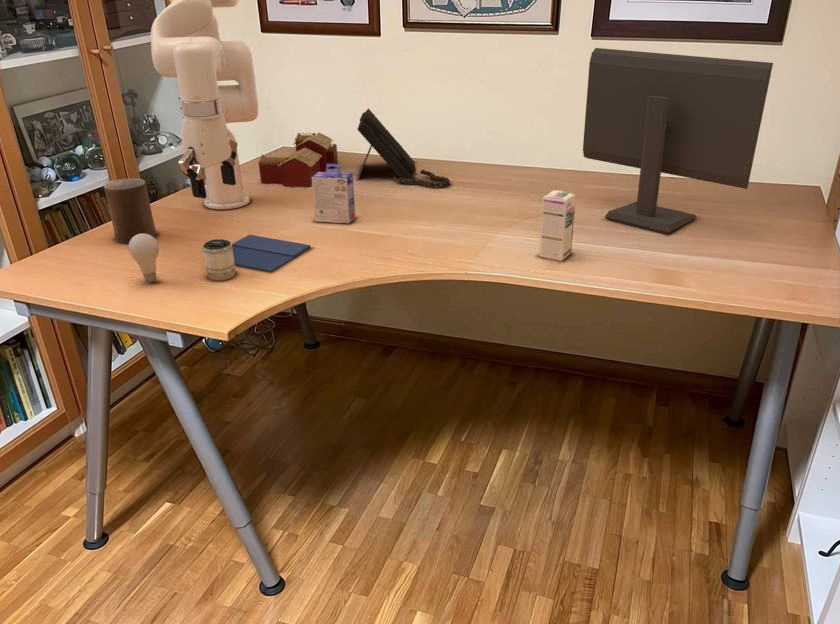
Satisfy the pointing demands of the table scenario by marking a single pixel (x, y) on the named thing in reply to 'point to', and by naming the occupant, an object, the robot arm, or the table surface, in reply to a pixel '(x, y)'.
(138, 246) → the lightbulb
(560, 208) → the syrup box
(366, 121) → the office phone
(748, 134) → the computer monitor
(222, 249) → the camera lens
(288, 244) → the cloth
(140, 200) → the pillar candle
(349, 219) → the ink cartridge box
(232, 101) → the robot arm
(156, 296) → the table surface
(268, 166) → the toy houses
